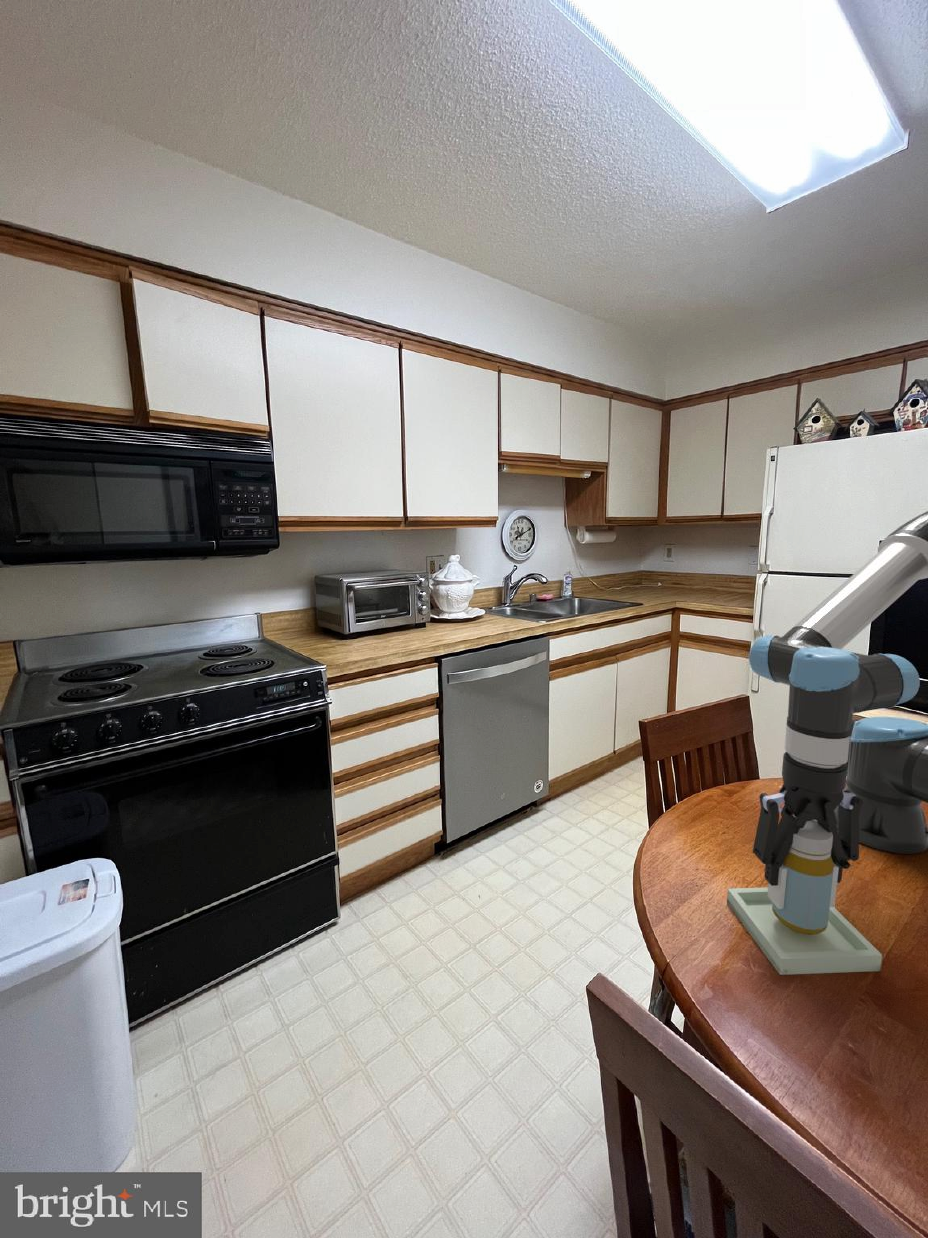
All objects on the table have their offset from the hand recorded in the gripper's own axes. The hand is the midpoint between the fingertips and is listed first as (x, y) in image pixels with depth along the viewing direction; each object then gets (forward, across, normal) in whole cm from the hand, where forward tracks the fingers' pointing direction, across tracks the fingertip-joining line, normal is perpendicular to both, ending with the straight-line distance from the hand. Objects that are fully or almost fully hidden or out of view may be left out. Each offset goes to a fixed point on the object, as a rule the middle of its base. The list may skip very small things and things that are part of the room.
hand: (800, 901), depth 77 cm
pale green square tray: (+6, 0, 0) cm, 6 cm away
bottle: (+3, 0, 0) cm, 3 cm away
